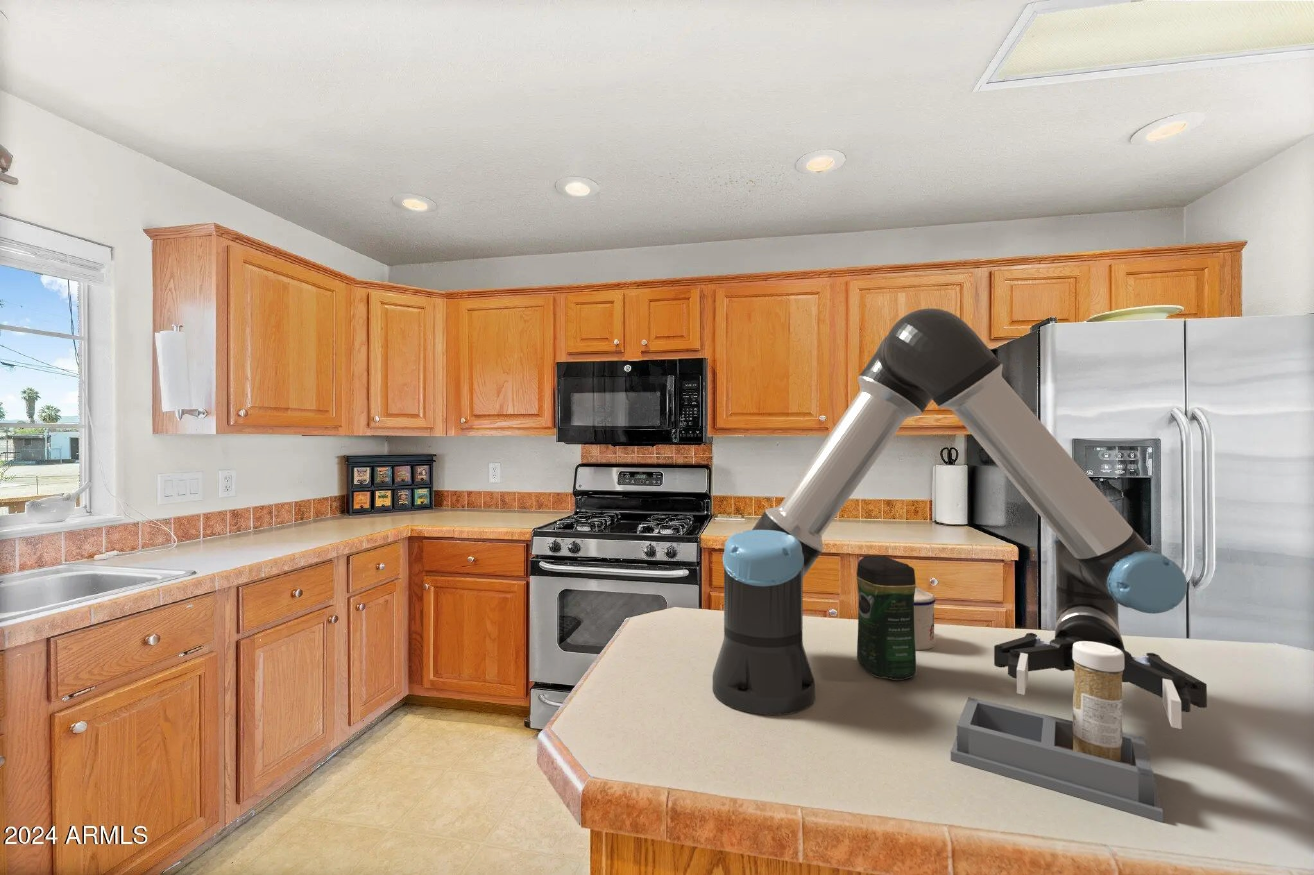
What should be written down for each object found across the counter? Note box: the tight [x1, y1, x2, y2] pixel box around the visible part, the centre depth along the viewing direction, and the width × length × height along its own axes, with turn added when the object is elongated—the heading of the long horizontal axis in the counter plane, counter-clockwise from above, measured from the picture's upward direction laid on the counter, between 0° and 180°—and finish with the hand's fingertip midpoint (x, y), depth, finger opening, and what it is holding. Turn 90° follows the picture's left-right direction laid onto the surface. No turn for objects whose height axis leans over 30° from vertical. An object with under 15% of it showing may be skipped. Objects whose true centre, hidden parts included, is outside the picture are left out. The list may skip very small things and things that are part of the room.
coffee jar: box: [856, 555, 917, 681], centre depth 94 cm, size 10×8×19 cm
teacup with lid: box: [914, 585, 936, 651], centre depth 109 cm, size 12×9×12 cm
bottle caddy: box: [950, 696, 1164, 823], centre depth 66 cm, size 19×11×4 cm, turn 54°
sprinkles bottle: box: [1072, 641, 1124, 763], centre depth 63 cm, size 5×5×14 cm
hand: (1093, 697), depth 61 cm, fingers open, 12 cm apart
